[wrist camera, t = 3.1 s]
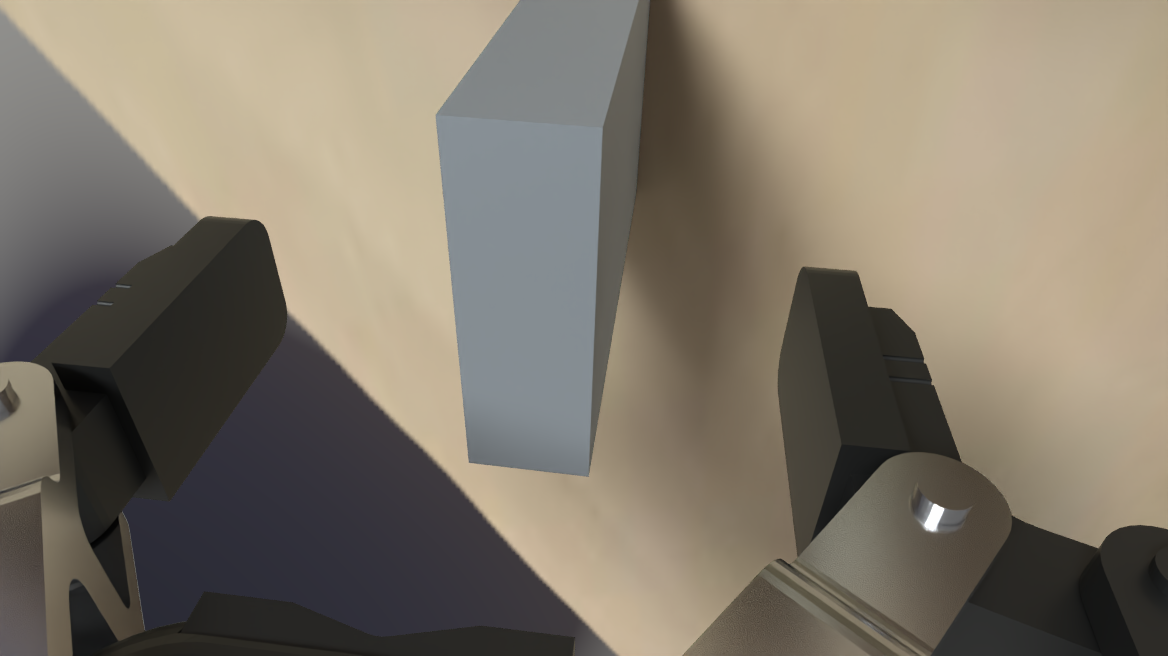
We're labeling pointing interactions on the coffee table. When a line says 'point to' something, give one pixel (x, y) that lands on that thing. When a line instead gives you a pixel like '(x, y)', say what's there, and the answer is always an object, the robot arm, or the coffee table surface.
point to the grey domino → (542, 223)
